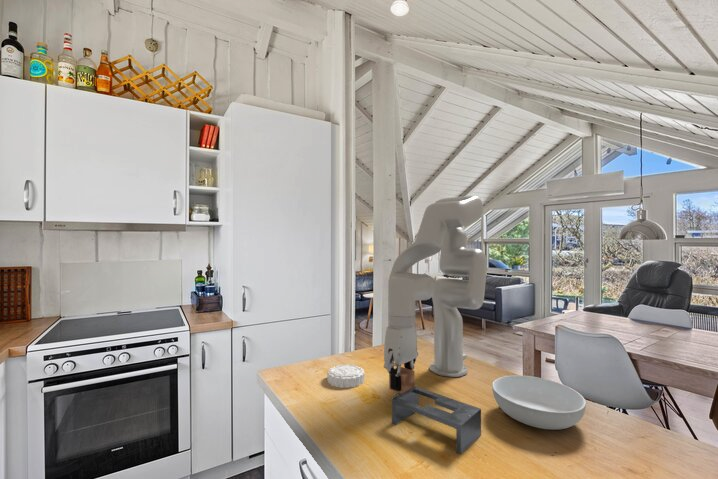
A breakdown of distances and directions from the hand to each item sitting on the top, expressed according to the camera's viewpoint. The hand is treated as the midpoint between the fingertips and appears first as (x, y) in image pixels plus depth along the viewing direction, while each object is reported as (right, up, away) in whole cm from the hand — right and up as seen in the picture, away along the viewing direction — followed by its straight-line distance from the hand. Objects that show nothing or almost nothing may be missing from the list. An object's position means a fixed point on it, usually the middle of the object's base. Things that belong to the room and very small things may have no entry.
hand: (401, 385), depth 95 cm
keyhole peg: (0, -4, 0) cm, 4 cm away
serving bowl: (+33, -5, -9) cm, 34 cm away
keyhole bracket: (+6, -4, -14) cm, 16 cm away
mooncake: (-16, -5, +15) cm, 23 cm away
